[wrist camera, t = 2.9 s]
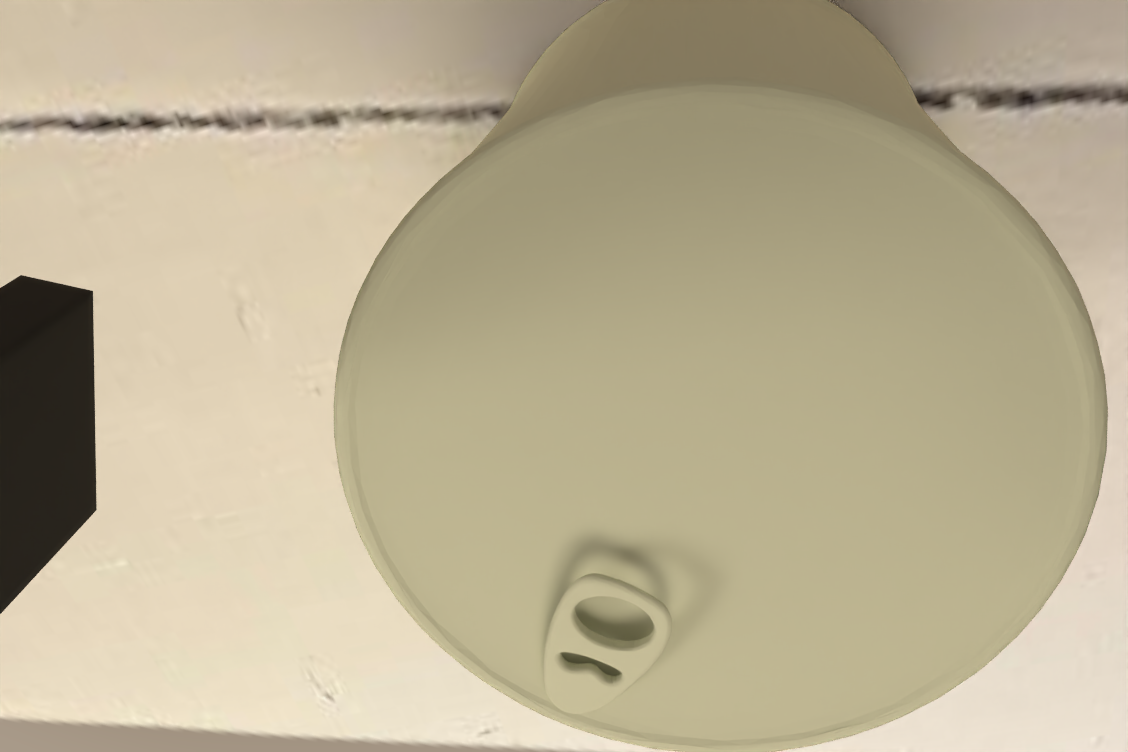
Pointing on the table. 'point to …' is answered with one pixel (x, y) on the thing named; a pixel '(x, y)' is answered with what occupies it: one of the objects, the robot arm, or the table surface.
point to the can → (720, 390)
